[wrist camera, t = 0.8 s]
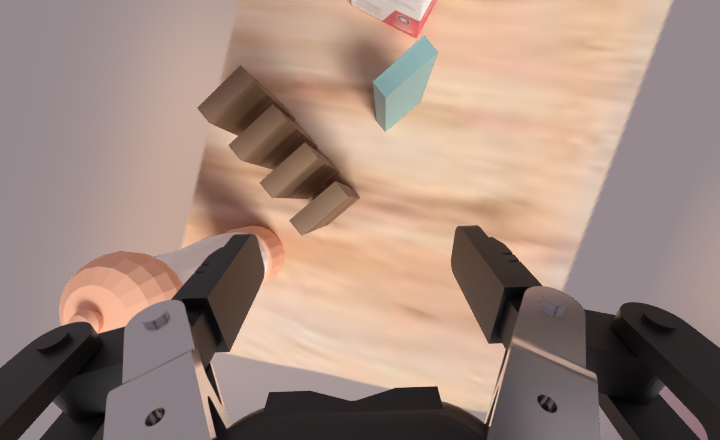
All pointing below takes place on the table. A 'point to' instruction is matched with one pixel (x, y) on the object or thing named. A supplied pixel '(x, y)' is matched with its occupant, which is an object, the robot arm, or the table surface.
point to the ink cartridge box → (398, 12)
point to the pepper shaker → (147, 279)
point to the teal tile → (403, 83)
